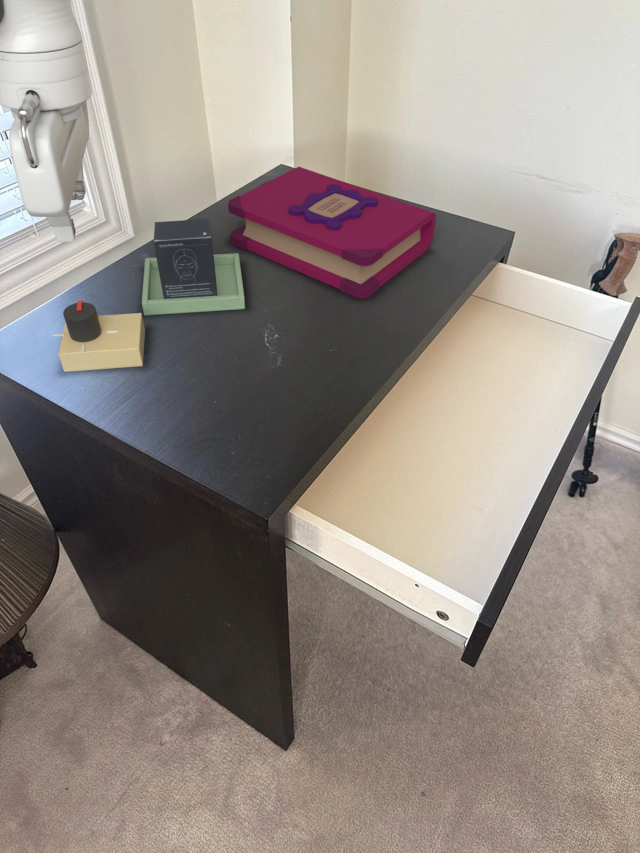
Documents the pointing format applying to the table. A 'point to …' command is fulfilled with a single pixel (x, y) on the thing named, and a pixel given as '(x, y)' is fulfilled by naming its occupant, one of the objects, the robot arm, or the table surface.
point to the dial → (82, 321)
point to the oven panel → (106, 345)
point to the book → (332, 230)
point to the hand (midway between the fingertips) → (72, 217)
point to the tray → (226, 300)
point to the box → (185, 258)
